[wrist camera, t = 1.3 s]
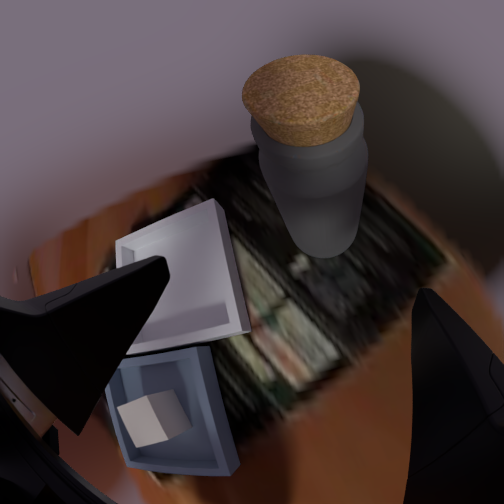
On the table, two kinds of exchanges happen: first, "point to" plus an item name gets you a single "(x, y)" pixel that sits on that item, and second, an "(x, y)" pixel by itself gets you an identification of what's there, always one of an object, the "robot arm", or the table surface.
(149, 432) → the white cube
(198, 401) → the blue tray
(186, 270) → the grey tray
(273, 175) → the bottle
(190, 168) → the table surface
